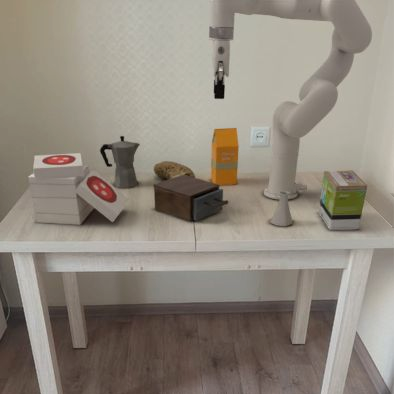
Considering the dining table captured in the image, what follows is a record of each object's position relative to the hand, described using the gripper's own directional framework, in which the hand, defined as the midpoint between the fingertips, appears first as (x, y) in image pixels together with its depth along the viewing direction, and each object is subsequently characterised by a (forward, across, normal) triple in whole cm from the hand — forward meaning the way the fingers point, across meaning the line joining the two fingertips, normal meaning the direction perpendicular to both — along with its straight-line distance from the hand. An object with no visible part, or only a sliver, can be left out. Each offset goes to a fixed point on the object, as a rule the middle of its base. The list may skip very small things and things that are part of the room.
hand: (218, 96), depth 160 cm
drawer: (+33, -15, +6) cm, 37 cm away
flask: (+34, -22, -22) cm, 46 cm away
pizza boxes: (+35, -18, +46) cm, 60 cm away
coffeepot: (+35, +15, +36) cm, 52 cm away
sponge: (+34, +20, +16) cm, 43 cm away
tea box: (+34, -21, -41) cm, 57 cm away
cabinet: (+34, -11, +10) cm, 37 cm away
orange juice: (+34, +20, -4) cm, 40 cm away
